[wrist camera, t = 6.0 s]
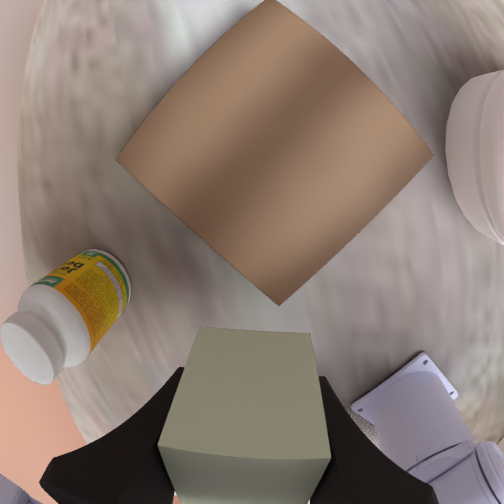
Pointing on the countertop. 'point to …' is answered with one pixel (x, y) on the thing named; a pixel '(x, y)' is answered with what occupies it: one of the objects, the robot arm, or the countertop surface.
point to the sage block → (247, 420)
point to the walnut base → (275, 149)
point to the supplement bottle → (66, 315)
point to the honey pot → (478, 152)
